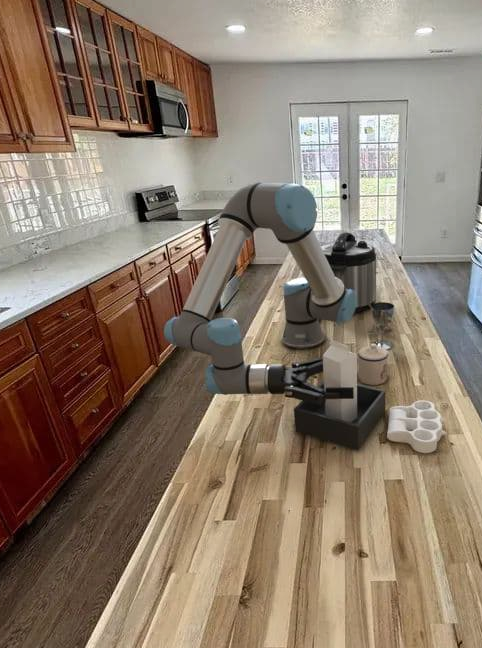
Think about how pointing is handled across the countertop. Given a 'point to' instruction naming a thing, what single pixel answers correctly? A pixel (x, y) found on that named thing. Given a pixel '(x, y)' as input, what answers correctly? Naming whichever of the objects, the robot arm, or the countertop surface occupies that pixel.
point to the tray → (339, 431)
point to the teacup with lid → (373, 365)
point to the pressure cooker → (354, 267)
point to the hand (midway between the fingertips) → (353, 378)
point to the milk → (340, 380)
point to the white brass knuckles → (416, 426)
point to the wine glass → (382, 319)
